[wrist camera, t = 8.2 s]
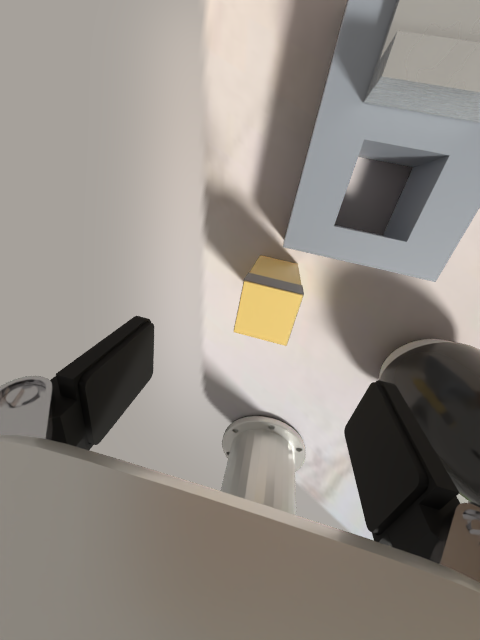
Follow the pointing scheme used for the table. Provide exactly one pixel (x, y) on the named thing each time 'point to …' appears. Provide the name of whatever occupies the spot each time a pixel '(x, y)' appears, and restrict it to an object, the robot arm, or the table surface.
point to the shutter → (430, 59)
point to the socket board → (388, 146)
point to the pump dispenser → (443, 403)
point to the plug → (269, 300)
